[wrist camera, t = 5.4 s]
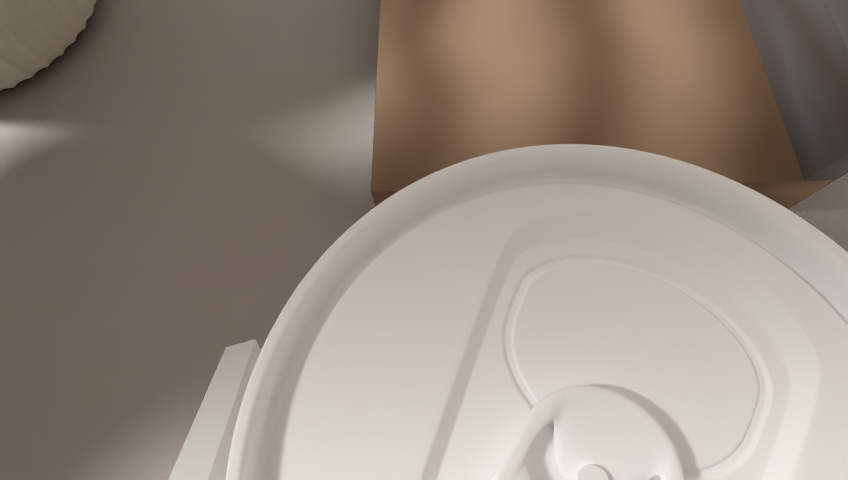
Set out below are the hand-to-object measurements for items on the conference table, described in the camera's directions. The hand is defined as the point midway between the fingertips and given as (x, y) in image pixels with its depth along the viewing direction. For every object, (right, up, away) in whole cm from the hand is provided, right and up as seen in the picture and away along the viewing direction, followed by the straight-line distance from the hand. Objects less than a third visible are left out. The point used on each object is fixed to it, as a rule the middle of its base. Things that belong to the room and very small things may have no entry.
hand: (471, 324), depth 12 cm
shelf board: (+5, +11, +9) cm, 15 cm away
